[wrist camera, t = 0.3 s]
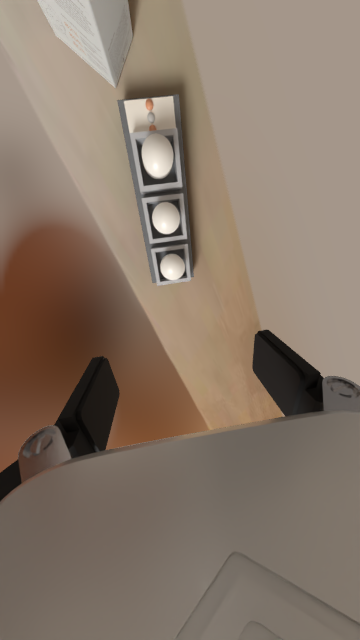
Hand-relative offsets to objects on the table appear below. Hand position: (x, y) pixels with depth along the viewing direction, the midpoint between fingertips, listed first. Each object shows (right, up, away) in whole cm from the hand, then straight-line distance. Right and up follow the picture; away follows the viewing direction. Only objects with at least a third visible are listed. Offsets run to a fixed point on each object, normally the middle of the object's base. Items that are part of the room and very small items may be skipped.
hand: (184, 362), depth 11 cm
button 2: (-3, +24, +13) cm, 28 cm away
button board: (-3, +22, +20) cm, 30 cm away
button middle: (-3, +18, +16) cm, 24 cm away
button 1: (-2, +12, +19) cm, 23 cm away
